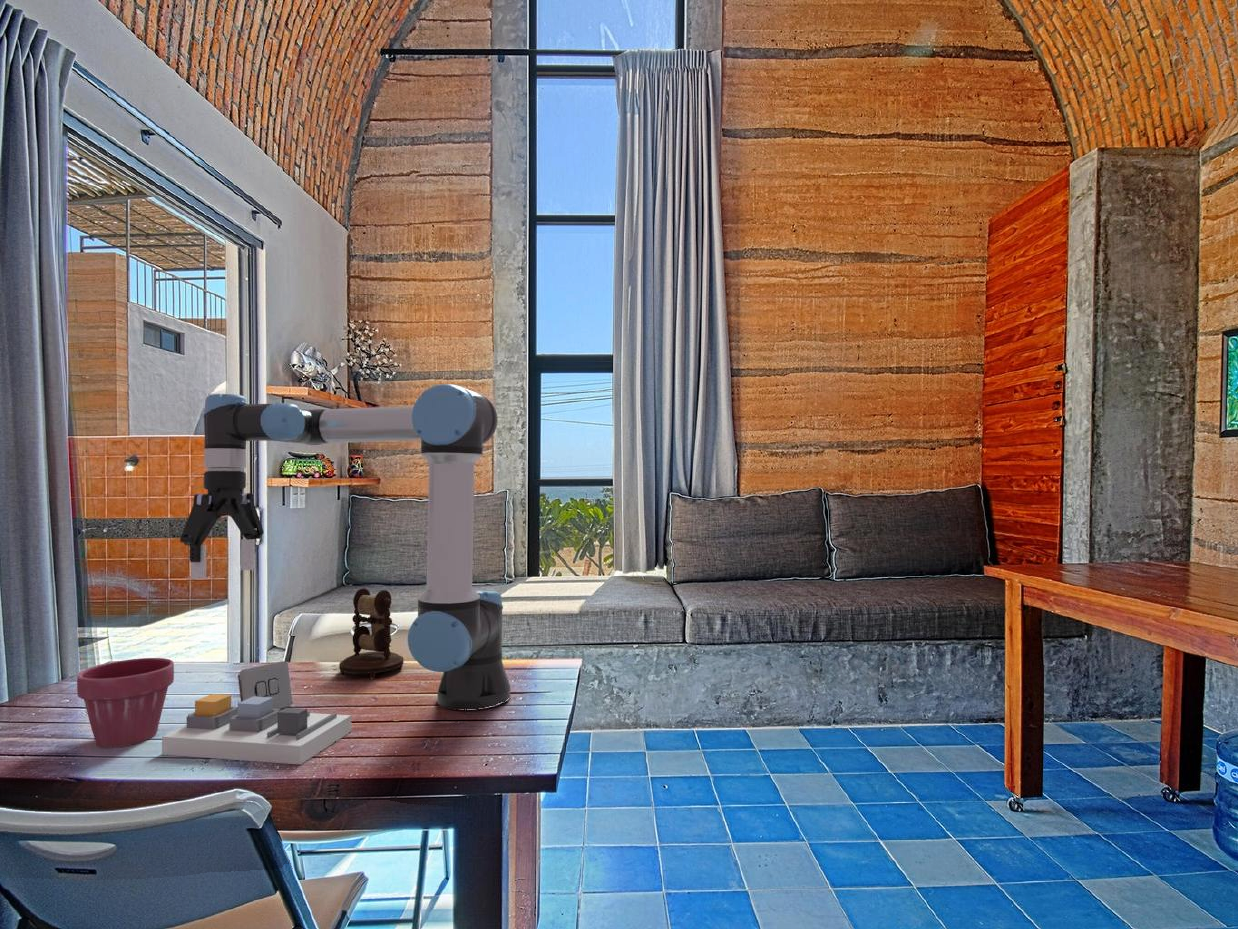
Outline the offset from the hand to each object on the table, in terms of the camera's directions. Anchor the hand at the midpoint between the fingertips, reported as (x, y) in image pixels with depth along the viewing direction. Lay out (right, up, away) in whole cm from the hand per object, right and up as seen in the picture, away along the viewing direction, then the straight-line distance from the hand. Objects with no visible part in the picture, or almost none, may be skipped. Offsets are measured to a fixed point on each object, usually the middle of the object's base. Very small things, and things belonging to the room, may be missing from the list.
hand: (224, 574), depth 142 cm
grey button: (+16, -22, -18) cm, 33 cm away
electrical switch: (+8, -28, -1) cm, 29 cm away
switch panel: (+17, -27, -19) cm, 37 cm away
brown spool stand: (+20, -28, +27) cm, 44 cm away
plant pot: (-9, -27, -16) cm, 33 cm away
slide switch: (+24, -24, -22) cm, 41 cm away
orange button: (+8, -22, -17) cm, 29 cm away
